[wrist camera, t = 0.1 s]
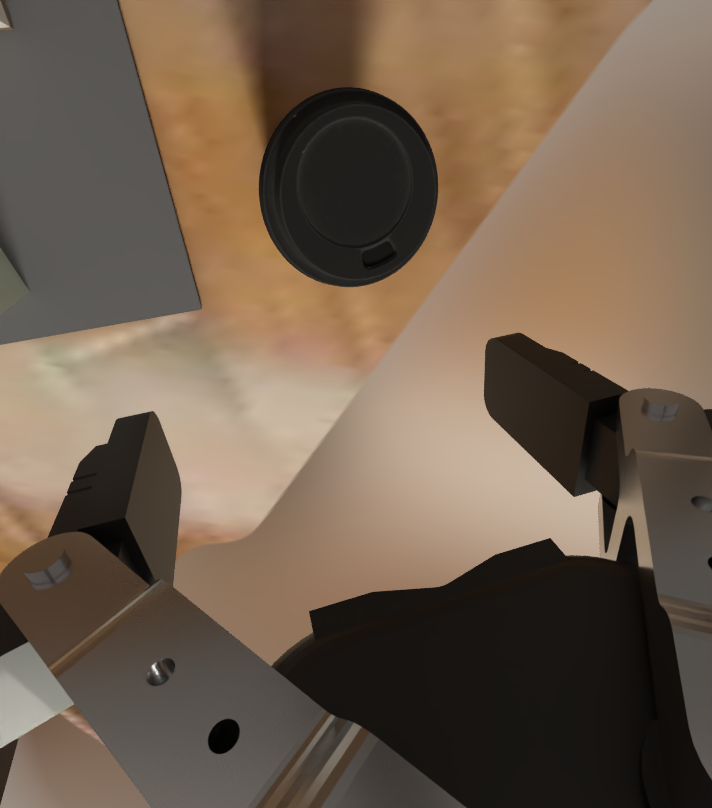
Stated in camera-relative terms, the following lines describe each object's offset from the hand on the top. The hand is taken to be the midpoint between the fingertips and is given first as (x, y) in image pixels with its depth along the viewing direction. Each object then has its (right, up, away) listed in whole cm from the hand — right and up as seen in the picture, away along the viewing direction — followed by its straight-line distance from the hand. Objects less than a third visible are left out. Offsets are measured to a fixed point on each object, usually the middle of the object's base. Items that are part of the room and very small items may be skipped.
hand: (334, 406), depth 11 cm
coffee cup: (-3, +17, +24) cm, 30 cm away
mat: (-21, +17, +19) cm, 33 cm away
